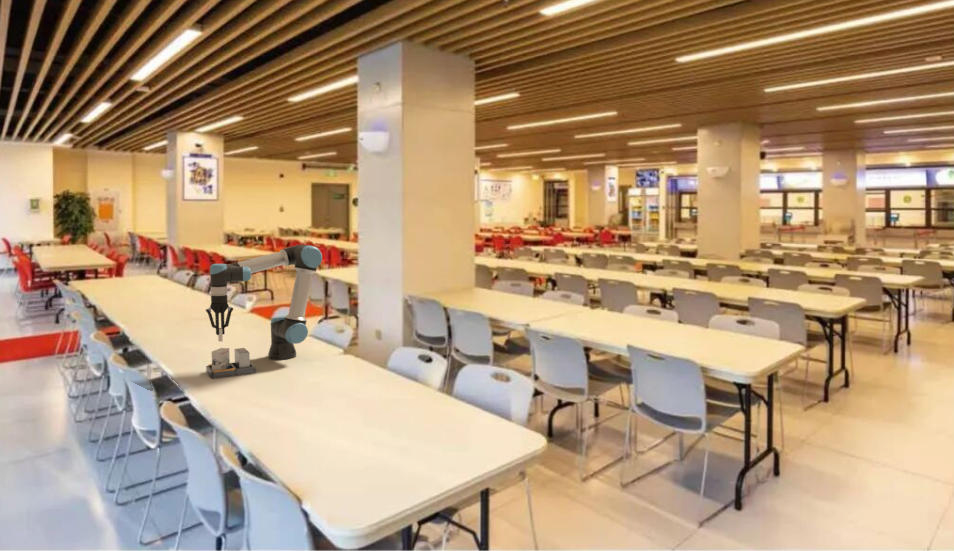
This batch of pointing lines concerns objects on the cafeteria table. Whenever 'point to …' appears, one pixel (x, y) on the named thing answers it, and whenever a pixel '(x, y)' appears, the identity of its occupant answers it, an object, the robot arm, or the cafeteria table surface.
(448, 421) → the cafeteria table surface
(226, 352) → the ink box
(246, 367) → the rack
